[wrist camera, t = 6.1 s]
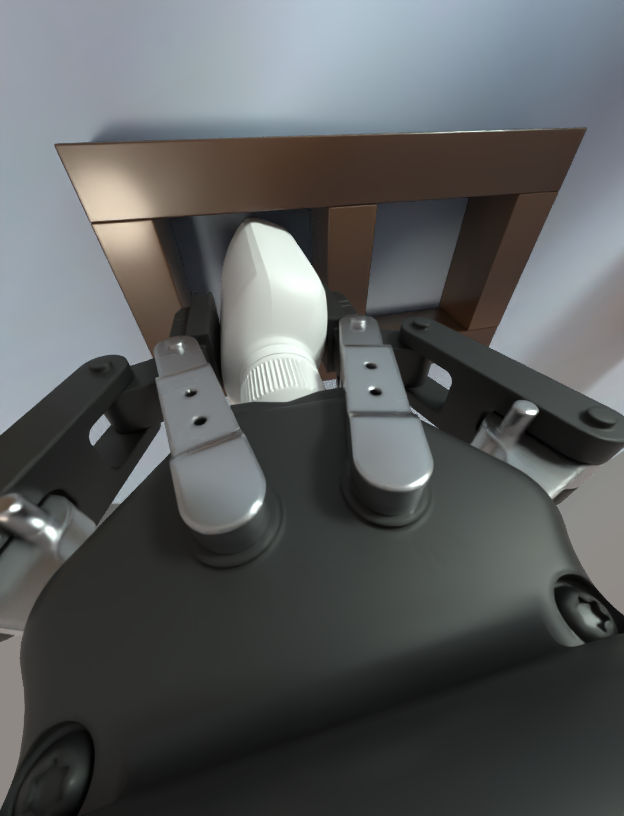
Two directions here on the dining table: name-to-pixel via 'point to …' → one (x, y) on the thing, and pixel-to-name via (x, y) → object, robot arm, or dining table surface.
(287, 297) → the eye dropper bottle
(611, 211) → the dining table surface
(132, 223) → the holder
